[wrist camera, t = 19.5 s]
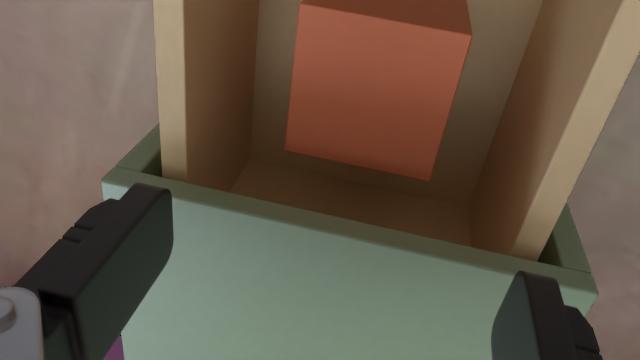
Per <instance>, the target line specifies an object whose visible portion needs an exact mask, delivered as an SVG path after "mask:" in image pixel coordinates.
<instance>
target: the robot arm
mask: <svg viewBox="0 0 640 360" xmlns="http://www.w3.org/2000/svg"><path fill="white" fill-rule="evenodd" d="M173 241H174V234H173V211H172V194H171V191H170V190H169V189H166V188H162V187H158V186H153V185H149V184H144V183H140V182H137V183H135V184H133V185H132V186H131V188H130V189H129V190H128V191H127V192H126V193H125V194H124V195H123V196H122V197H121V198H120V199H119V200H116V199H112V198H109V199H107V200H105V201H104V202H102V203H100V204H98V205H96V206H94V207H92V208H90V209H89V210H88V211H87V212H86V213H85V214H84V215H83V216H82V217H81V218H80V219H79V220H78V221H77V222H76V223H75V225H74V227H71V228H70V229H69V230H68V231H67V232H66V233H65V234H64V235H63V238H62V239H59V240H58V241H57V242H56V243H55V244H54V245H53V246H52V247H51V248H50V249H49V250H48V251H47V252H46V253H45V254H44V255H43V257H42V258H41V259H40V260H39V261H38V262H37V263H36V264H35V265H34V266H33V267H32V268H31V269H30V270H29V271H28V272H27V273H26V274H25V275H24V276H23V277H22V278H21V279H20V280H19V281H18V282H17V283H16V284H15V285H14V286H13V287H0V360H103V359H104V357H105V356H106V354H107V353H108V351H109V350H110V348H111V347H112V345H113V344H114V342H115V341H116V339H117V338H118V336H119V335H120V333H121V332H122V330H123V329H124V327H125V326H126V324H127V323H128V321H129V320H130V318H131V317H132V315H133V314H134V312H135V311H136V309H137V308H138V306H139V305H140V303H141V302H142V300H143V299H144V297H145V296H146V294H147V293H148V291H149V290H150V288H151V287H152V285H153V284H154V282H155V281H156V279H157V278H158V276H159V275H160V273H161V272H162V270H163V269H164V267H165V266H166V264H167V262H168V260H169V258H170V255H171V252H172V248H173ZM491 350H492V360H603V359H602V356H601V355H599V352H600V350H599V346H598V343H597V340H596V337H595V334H594V330H593V328H592V327H591V326H590V324H589V323H588V322H587V320H586V319H585V318H584V316H583V315H582V314H581V312H580V311H579V310H578V308H576V307H572V306H568V305H564V302H563V299H562V295H561V291H560V287H559V284H558V281H557V280H556V279H555V278H552V277H548V276H543V275H539V274H535V273H530V272H526V271H521V270H520V271H518V272H517V273H516V274H515V276H514V278H513V280H512V282H511V285H510V287H509V289H508V291H507V293H506V295H505V297H504V299H503V302H502V304H501V306H500V308H499V310H498V312H497V314H496V317H495V319H494V323H493V327H492V333H491Z"/></svg>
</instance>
